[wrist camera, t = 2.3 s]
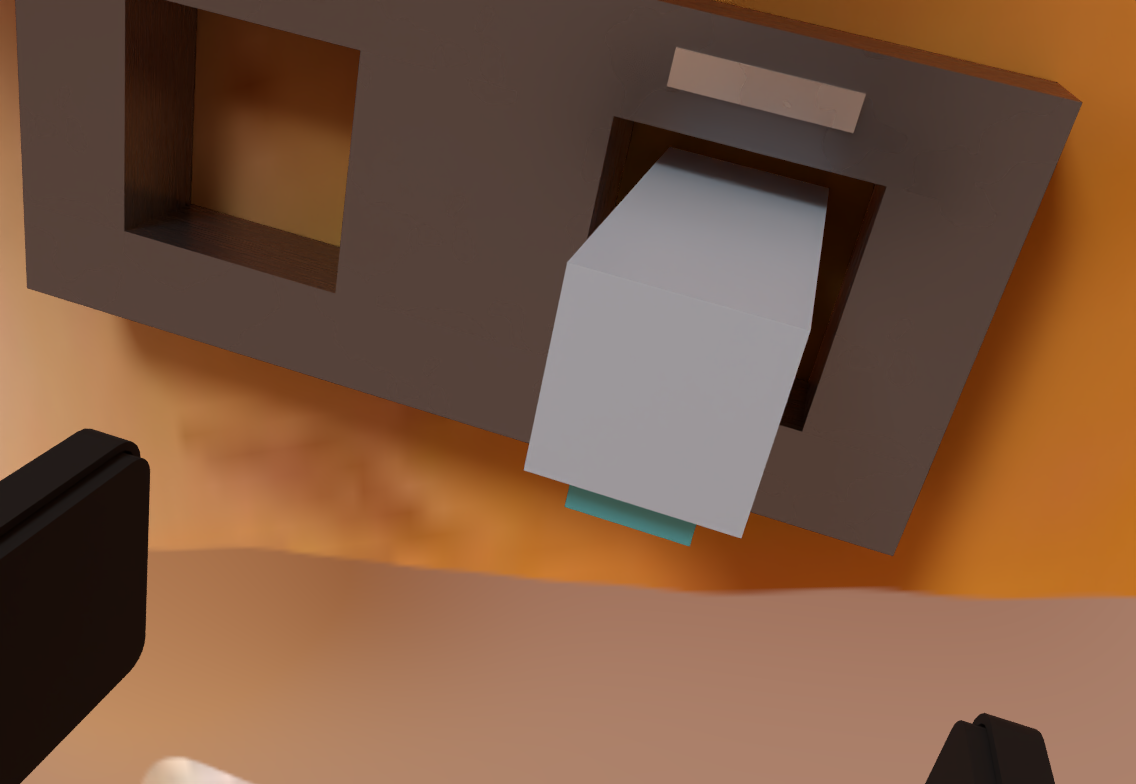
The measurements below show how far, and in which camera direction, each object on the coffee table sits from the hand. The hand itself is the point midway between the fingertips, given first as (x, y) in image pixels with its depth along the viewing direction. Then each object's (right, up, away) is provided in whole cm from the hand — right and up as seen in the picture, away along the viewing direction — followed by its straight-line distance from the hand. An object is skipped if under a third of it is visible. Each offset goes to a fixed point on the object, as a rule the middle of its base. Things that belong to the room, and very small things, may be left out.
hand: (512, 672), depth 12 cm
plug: (+5, +7, +15) cm, 17 cm away
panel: (-1, +9, +15) cm, 18 cm away
